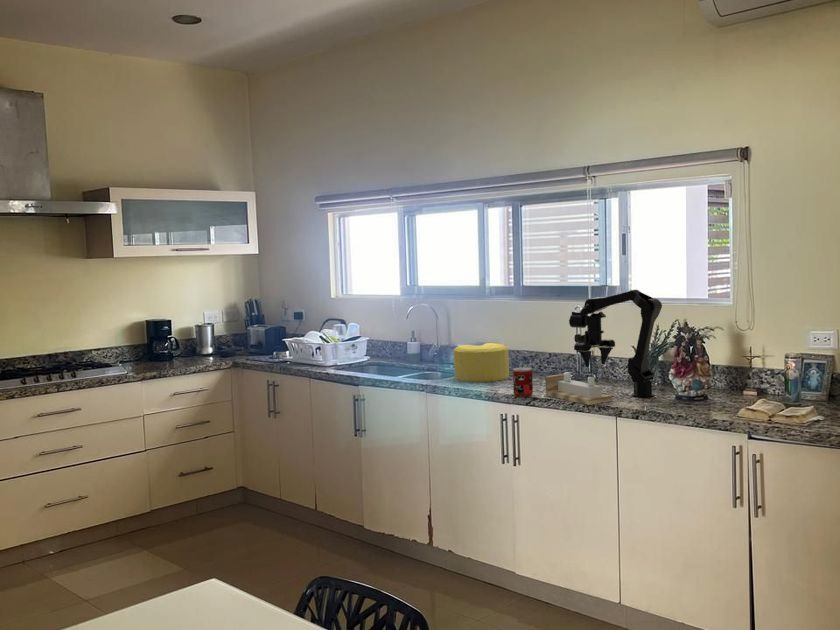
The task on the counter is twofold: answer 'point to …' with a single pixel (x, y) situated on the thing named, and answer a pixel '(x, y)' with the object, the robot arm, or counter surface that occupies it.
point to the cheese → (481, 362)
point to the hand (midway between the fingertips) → (595, 365)
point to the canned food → (522, 381)
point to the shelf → (553, 392)
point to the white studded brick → (579, 387)
